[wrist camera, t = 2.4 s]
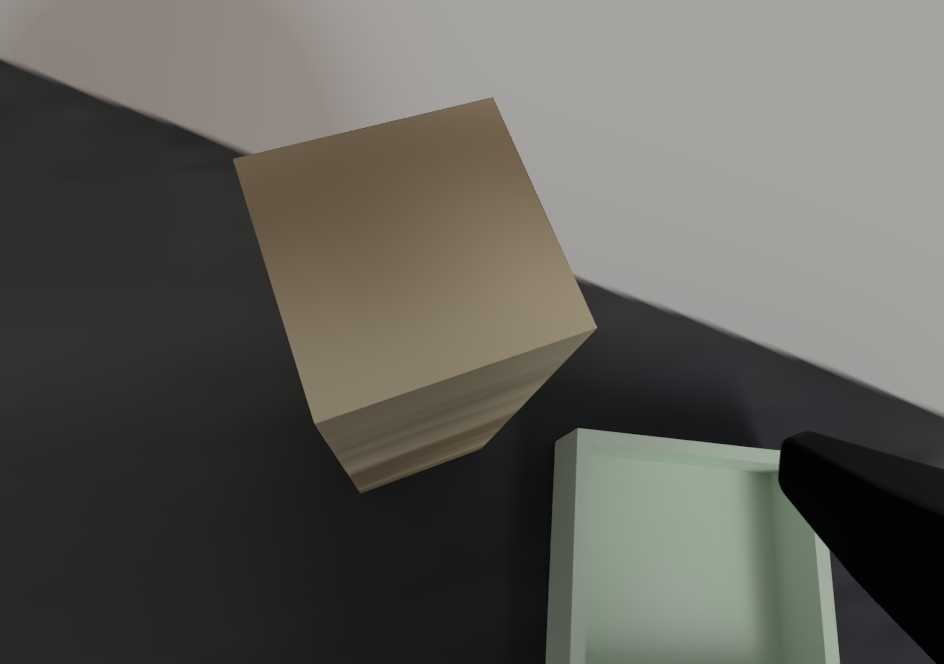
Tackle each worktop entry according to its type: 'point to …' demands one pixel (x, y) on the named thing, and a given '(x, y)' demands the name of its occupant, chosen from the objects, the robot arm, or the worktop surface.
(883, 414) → the worktop surface
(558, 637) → the open square box
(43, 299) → the worktop surface
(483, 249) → the tan wooden block
